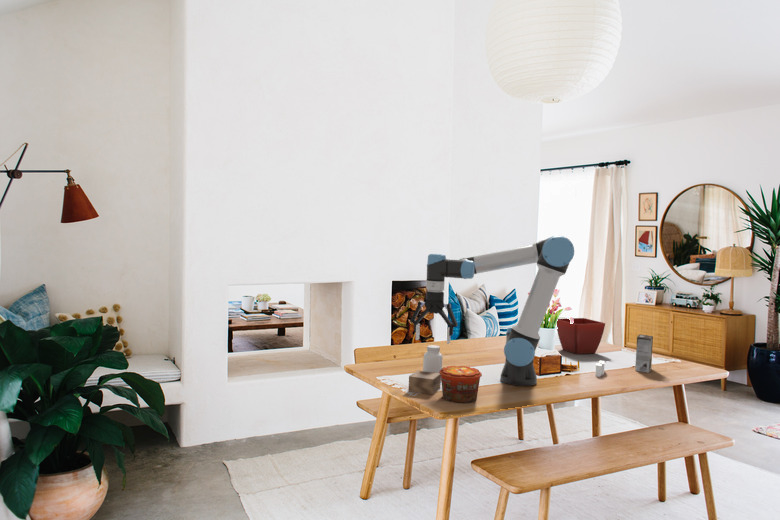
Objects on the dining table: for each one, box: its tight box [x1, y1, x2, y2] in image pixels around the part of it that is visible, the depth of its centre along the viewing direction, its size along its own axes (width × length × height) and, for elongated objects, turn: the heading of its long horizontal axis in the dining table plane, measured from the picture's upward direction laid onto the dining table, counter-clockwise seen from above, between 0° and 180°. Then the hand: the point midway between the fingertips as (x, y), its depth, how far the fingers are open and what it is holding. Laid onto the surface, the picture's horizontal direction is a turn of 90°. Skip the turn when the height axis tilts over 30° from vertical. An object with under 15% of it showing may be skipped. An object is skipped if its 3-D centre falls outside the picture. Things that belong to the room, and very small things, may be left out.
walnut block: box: [408, 370, 442, 396], centre depth 222 cm, size 10×10×6 cm
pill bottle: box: [422, 344, 444, 373], centre depth 234 cm, size 8×8×15 cm
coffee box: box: [634, 334, 654, 373], centre depth 266 cm, size 9×6×16 cm
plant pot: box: [556, 317, 606, 355], centre depth 304 cm, size 19×19×17 cm
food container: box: [439, 365, 483, 404], centre depth 212 cm, size 16×16×11 cm
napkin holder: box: [595, 359, 606, 377], centre depth 256 cm, size 15×11×6 cm
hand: (432, 341), depth 233 cm, fingers open, 13 cm apart
